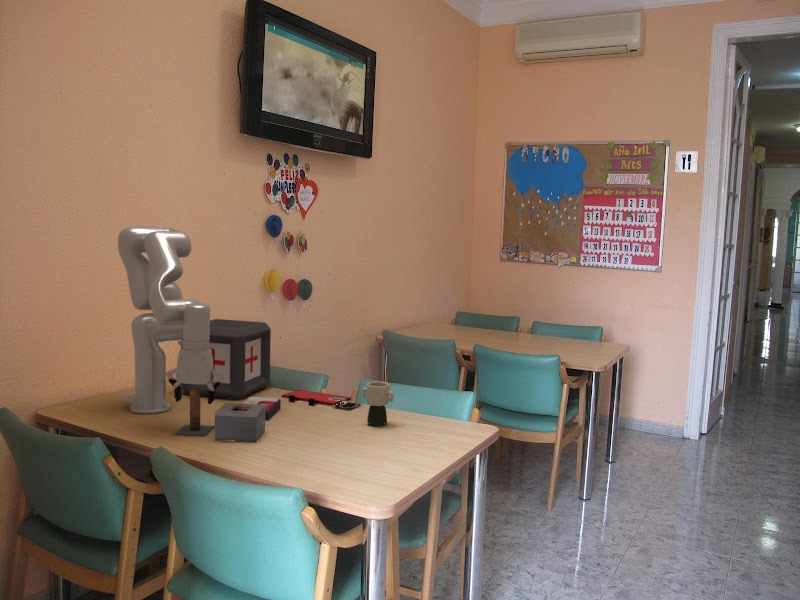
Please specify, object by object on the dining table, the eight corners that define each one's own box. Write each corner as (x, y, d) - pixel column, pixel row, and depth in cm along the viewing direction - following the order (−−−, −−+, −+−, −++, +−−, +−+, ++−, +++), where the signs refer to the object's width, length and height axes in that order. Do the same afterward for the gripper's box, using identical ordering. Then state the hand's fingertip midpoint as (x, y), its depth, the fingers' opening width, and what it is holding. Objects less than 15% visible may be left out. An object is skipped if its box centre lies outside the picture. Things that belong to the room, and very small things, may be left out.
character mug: (397, 424, 216) (398, 384, 214) (386, 429, 209) (388, 388, 208) (367, 419, 220) (368, 379, 219) (356, 424, 214) (357, 383, 213)
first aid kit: (214, 380, 267) (214, 317, 265) (272, 386, 261) (273, 322, 258) (177, 395, 243) (177, 325, 241) (240, 402, 237) (241, 330, 234)
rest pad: (174, 435, 197) (174, 433, 197) (185, 426, 206) (185, 424, 206) (205, 436, 197) (205, 434, 196) (214, 427, 205) (214, 425, 205)
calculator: (234, 408, 215) (249, 395, 230) (234, 421, 216) (249, 407, 231) (268, 410, 214) (281, 396, 229) (268, 423, 215) (280, 409, 230)
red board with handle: (346, 412, 228) (368, 404, 241) (346, 404, 228) (369, 396, 241) (274, 400, 242) (299, 393, 255) (274, 393, 242) (300, 386, 255)
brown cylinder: (188, 430, 200) (188, 390, 198) (191, 427, 203) (191, 388, 201) (198, 431, 199) (198, 391, 198) (201, 428, 202) (201, 388, 201)
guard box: (214, 440, 193) (214, 412, 193) (225, 429, 204) (225, 403, 204) (256, 441, 193) (256, 414, 192) (265, 430, 204) (265, 404, 203)
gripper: (162, 345, 196) (161, 403, 198) (221, 349, 196) (219, 407, 198) (171, 340, 204) (170, 396, 206) (228, 344, 203) (227, 400, 205)
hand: (194, 401), depth 202 cm, fingers open, 9 cm apart
